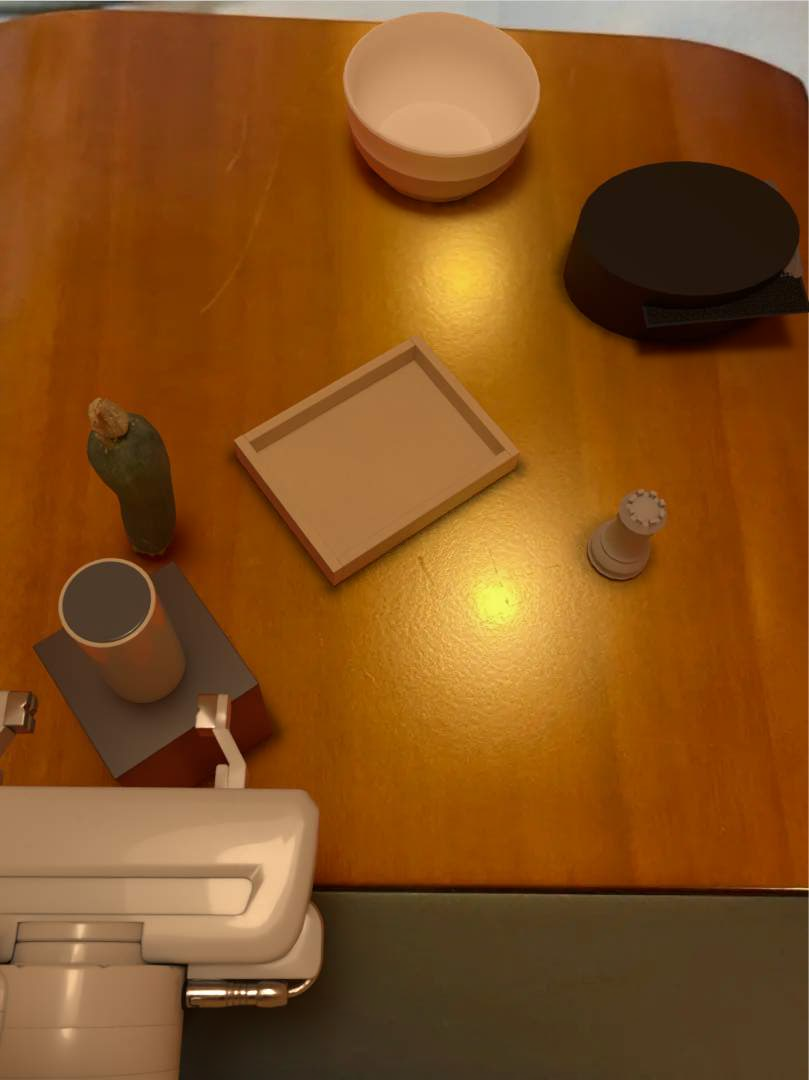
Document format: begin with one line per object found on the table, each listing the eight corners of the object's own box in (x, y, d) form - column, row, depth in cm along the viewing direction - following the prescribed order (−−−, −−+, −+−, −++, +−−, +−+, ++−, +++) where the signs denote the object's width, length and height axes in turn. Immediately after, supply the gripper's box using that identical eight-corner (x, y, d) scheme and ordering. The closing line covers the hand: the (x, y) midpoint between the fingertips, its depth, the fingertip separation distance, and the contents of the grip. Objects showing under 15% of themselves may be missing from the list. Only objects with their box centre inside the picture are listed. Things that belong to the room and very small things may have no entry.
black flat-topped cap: (549, 225, 86) (561, 163, 79) (753, 207, 86) (783, 144, 79) (577, 370, 80) (593, 317, 74) (794, 349, 81) (831, 295, 74)
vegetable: (154, 505, 72) (92, 344, 53) (206, 531, 71) (161, 376, 53) (120, 556, 70) (44, 406, 52) (173, 582, 69) (115, 440, 51)
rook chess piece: (651, 580, 72) (686, 535, 64) (590, 583, 71) (619, 538, 64) (640, 524, 73) (673, 474, 66) (581, 527, 73) (608, 477, 66)
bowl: (361, 237, 83) (363, 165, 75) (327, 97, 89) (326, 19, 82) (544, 214, 85) (564, 142, 78) (499, 79, 91) (513, 2, 84)
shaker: (130, 719, 53) (87, 665, 44) (89, 655, 55) (39, 589, 45) (201, 673, 55) (173, 611, 45) (159, 612, 56) (124, 539, 47)
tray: (333, 586, 70) (333, 572, 68) (236, 457, 74) (233, 439, 71) (515, 468, 75) (520, 451, 72) (415, 352, 78) (417, 332, 76)
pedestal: (153, 814, 63) (114, 780, 52) (82, 701, 66) (31, 646, 55) (272, 732, 66) (259, 683, 55) (200, 627, 68) (173, 559, 57)
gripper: (321, 1009, 41) (330, 680, 46) (-197, 1011, 39) (-122, 673, 45) (322, 1005, 46) (331, 713, 52) (-129, 1006, 45) (-70, 707, 51)
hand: (117, 694), depth 48 cm, fingers open, 8 cm apart
